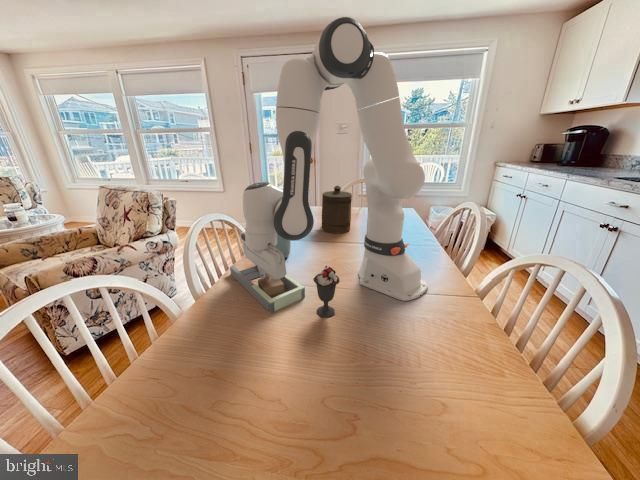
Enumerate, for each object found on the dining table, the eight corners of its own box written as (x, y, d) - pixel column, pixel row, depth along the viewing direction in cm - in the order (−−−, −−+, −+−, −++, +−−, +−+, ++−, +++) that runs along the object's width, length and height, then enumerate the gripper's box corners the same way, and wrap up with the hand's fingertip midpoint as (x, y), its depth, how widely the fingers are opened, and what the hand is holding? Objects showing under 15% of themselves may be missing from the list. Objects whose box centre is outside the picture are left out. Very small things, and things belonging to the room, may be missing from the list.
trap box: (304, 297, 75) (304, 287, 74) (270, 313, 68) (269, 302, 67) (261, 264, 94) (260, 256, 93) (231, 274, 87) (229, 265, 86)
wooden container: (352, 225, 137) (354, 184, 129) (347, 234, 124) (349, 189, 116) (325, 223, 141) (326, 182, 132) (318, 231, 127) (318, 187, 119)
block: (284, 295, 76) (283, 283, 75) (265, 301, 73) (264, 289, 72) (277, 285, 81) (276, 274, 80) (258, 291, 78) (257, 279, 77)
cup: (287, 262, 96) (286, 237, 92) (268, 260, 98) (266, 235, 94) (293, 253, 103) (292, 230, 100) (275, 251, 105) (273, 228, 101)
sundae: (320, 323, 65) (321, 270, 59) (309, 308, 70) (308, 259, 65) (342, 315, 67) (345, 265, 62) (330, 301, 73) (331, 254, 67)
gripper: (290, 247, 69) (292, 290, 75) (255, 227, 84) (259, 265, 89) (270, 253, 66) (273, 298, 71) (237, 232, 80) (242, 270, 85)
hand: (265, 279), depth 80 cm, fingers closed
